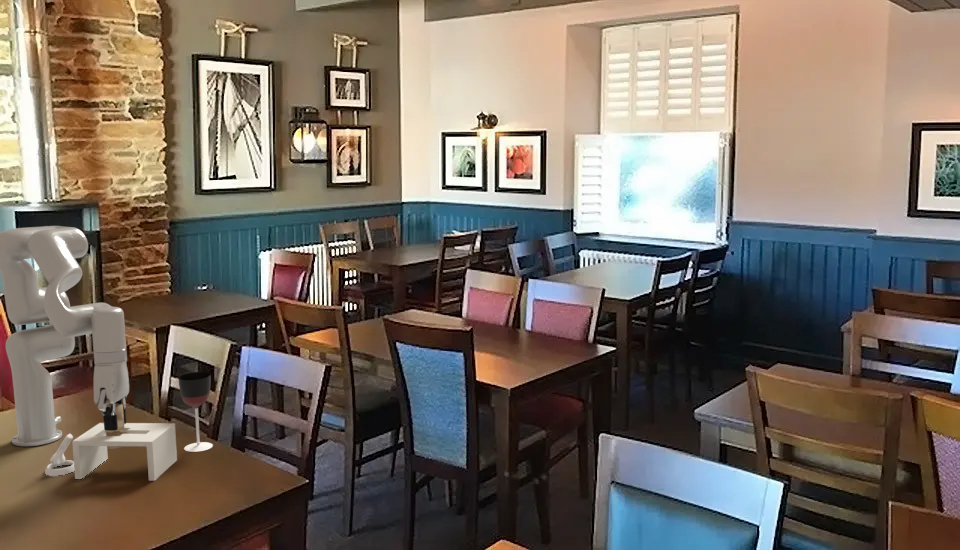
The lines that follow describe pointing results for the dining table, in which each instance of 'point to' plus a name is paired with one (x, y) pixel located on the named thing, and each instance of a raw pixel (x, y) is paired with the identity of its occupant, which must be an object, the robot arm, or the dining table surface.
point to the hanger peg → (120, 423)
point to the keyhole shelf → (153, 435)
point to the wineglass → (195, 400)
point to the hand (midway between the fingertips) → (115, 426)
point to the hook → (60, 460)
